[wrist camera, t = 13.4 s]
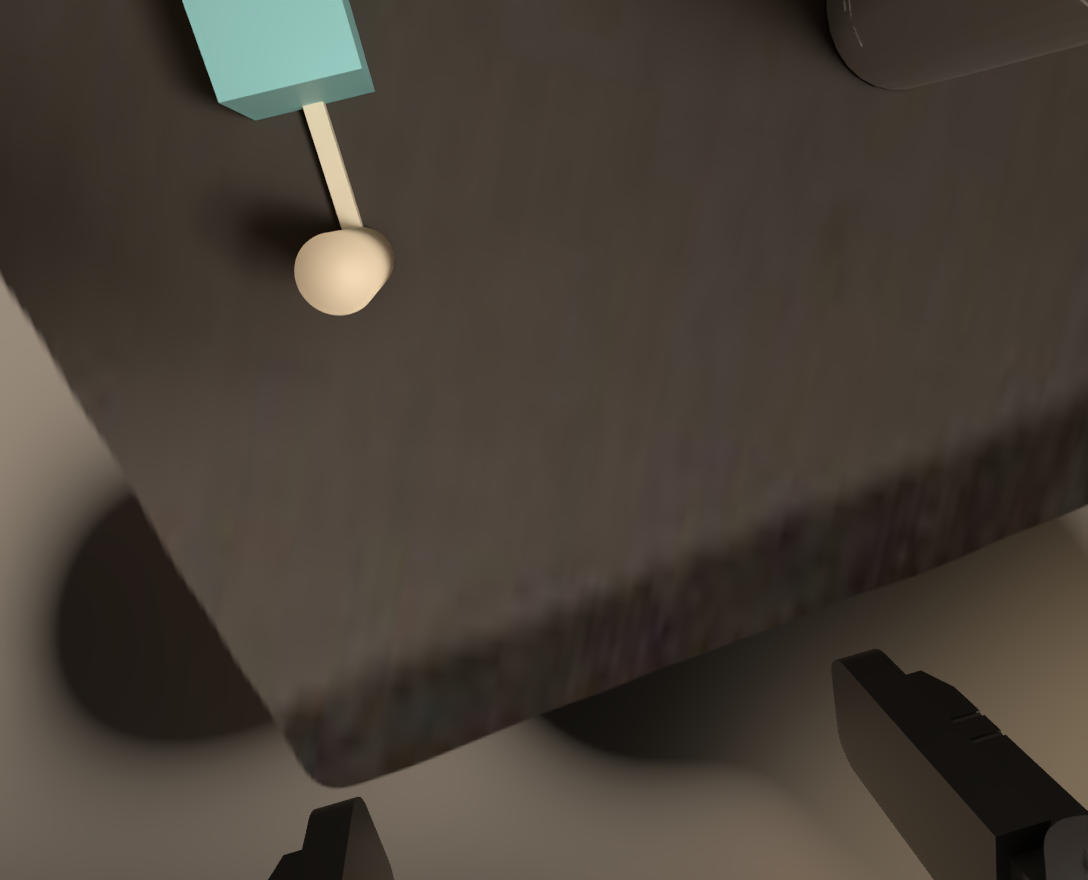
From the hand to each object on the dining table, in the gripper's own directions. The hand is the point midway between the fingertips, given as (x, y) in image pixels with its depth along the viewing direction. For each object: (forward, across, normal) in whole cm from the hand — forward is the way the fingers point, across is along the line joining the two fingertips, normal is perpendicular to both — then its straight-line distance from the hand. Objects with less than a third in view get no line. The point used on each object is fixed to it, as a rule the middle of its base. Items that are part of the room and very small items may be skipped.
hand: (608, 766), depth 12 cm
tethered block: (+30, +5, -14) cm, 33 cm away
